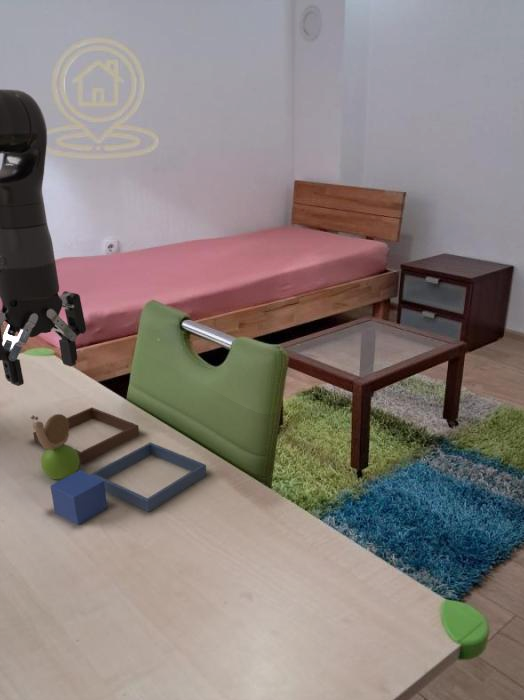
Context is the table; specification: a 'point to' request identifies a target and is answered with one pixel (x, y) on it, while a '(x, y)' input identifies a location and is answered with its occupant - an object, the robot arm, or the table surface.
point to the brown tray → (127, 434)
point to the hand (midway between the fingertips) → (44, 374)
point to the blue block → (79, 497)
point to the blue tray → (163, 495)
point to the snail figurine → (56, 447)
